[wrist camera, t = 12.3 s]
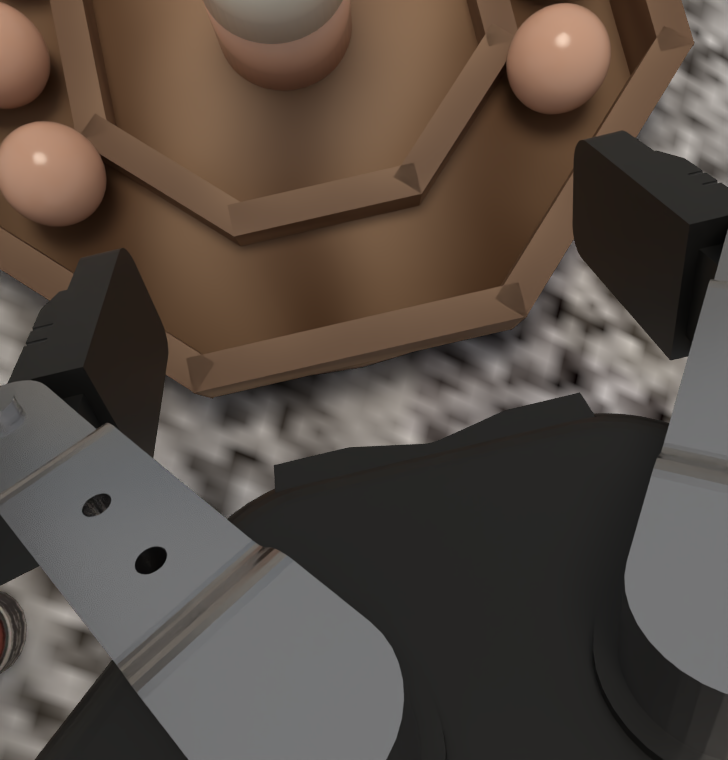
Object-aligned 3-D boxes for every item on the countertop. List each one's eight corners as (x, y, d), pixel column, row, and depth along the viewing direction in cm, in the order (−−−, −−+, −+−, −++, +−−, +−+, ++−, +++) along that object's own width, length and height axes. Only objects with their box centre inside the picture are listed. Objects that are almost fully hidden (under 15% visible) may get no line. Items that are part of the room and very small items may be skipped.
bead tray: (15, 447, 21) (-43, 447, 18) (-95, -183, 24) (-162, -273, 21) (707, 288, 22) (760, 263, 19) (531, -322, 24) (554, -432, 21)
